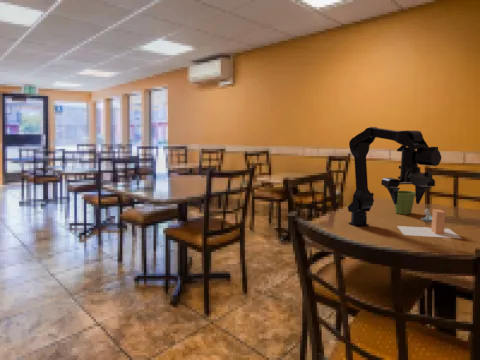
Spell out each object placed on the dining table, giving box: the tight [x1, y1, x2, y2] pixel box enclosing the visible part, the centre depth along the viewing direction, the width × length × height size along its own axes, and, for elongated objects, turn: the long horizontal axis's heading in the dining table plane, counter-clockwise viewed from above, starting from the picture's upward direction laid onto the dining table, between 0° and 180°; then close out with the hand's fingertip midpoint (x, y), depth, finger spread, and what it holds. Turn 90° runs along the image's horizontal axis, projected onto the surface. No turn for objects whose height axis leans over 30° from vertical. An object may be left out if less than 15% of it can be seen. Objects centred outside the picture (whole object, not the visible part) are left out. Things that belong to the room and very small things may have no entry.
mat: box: [396, 225, 463, 239], centre depth 134 cm, size 20×14×1 cm
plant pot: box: [394, 190, 416, 215], centre depth 169 cm, size 12×12×11 cm
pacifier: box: [420, 208, 432, 224], centre depth 151 cm, size 7×6×6 cm
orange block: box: [430, 208, 446, 234], centre depth 133 cm, size 3×6×9 cm, turn 165°
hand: (406, 204), depth 125 cm, fingers open, 9 cm apart
